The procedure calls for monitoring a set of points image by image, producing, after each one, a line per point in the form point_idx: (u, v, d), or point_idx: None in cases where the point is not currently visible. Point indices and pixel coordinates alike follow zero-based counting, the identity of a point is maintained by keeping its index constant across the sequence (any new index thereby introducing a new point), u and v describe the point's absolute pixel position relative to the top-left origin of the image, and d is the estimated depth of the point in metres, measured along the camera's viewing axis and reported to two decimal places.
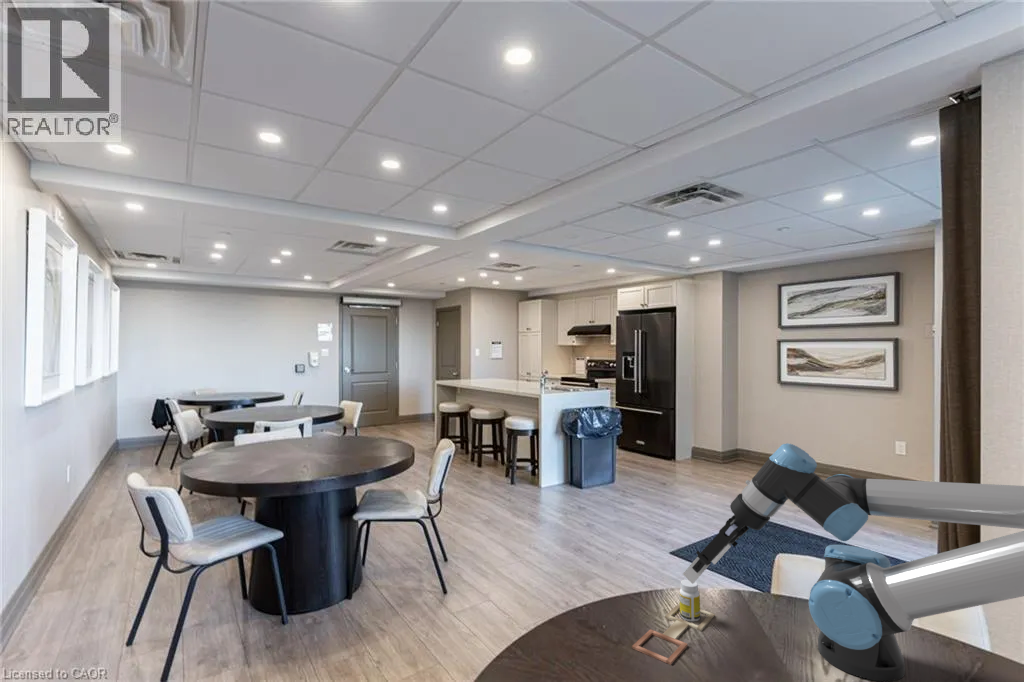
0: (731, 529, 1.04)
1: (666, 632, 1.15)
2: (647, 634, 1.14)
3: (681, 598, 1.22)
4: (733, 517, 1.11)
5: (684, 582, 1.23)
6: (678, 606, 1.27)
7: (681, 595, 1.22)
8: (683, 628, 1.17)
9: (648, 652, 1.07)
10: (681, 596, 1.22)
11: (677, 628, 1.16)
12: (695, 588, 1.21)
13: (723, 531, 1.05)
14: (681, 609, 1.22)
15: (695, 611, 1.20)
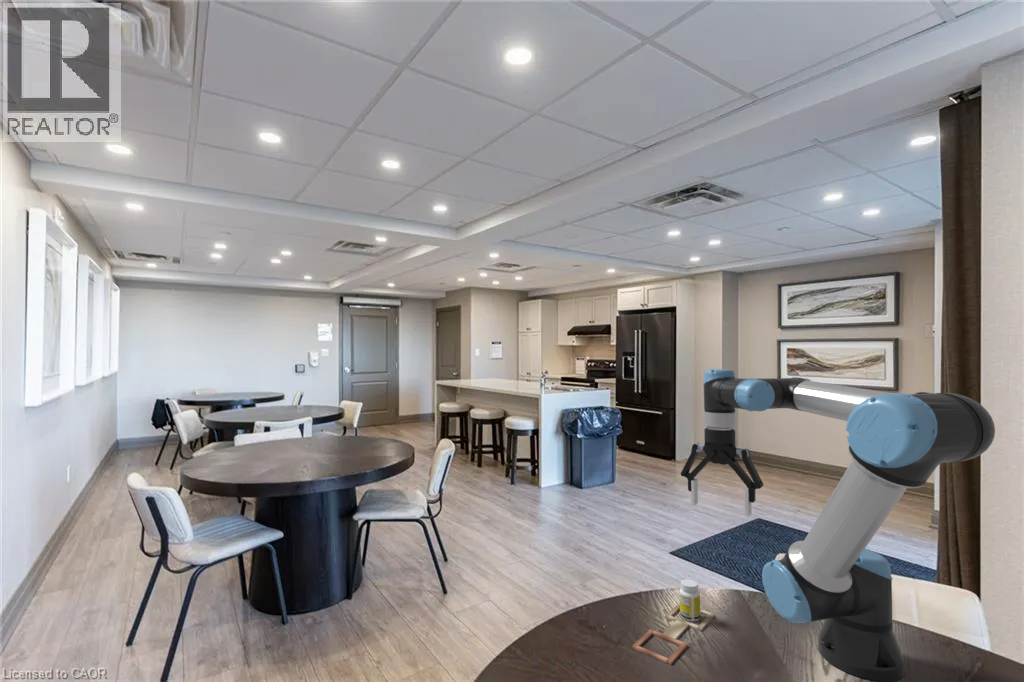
0: None
1: (666, 632, 1.15)
2: (647, 634, 1.14)
3: (681, 598, 1.22)
4: None
5: (684, 582, 1.23)
6: (678, 606, 1.27)
7: (681, 595, 1.22)
8: (683, 628, 1.17)
9: (648, 652, 1.07)
10: (681, 596, 1.22)
11: (677, 628, 1.16)
12: (695, 588, 1.21)
13: None
14: (681, 609, 1.22)
15: (695, 611, 1.20)
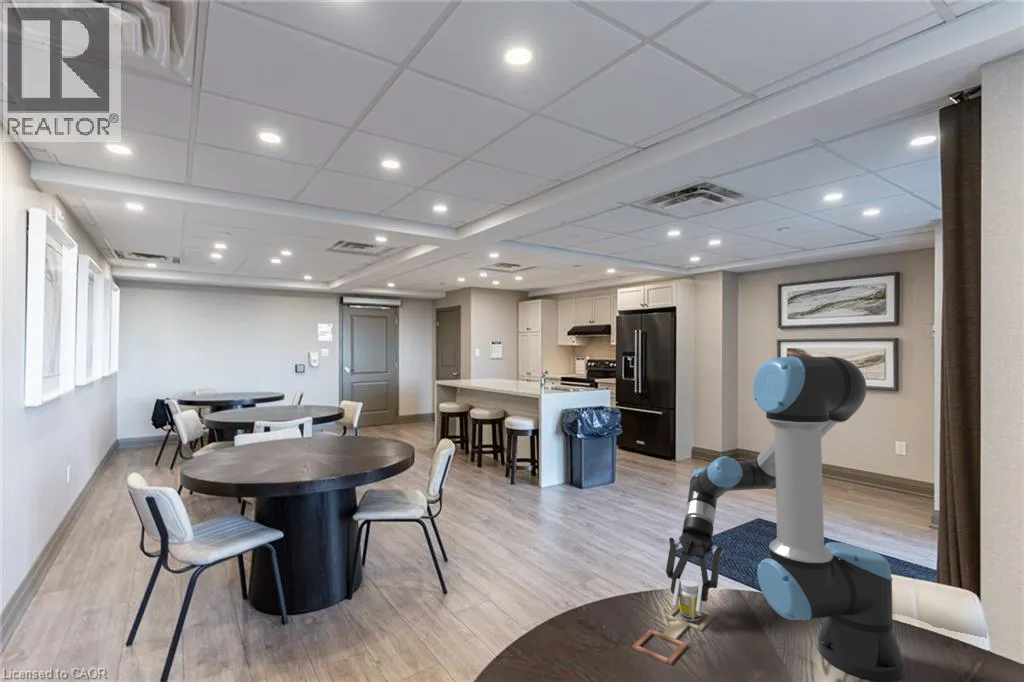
0: None
1: (666, 632, 1.15)
2: (647, 634, 1.14)
3: (681, 598, 1.22)
4: None
5: (684, 582, 1.23)
6: (678, 606, 1.27)
7: (681, 595, 1.22)
8: (683, 628, 1.17)
9: (648, 652, 1.07)
10: (681, 596, 1.22)
11: (677, 628, 1.16)
12: (695, 588, 1.21)
13: None
14: (681, 609, 1.22)
15: (695, 611, 1.20)
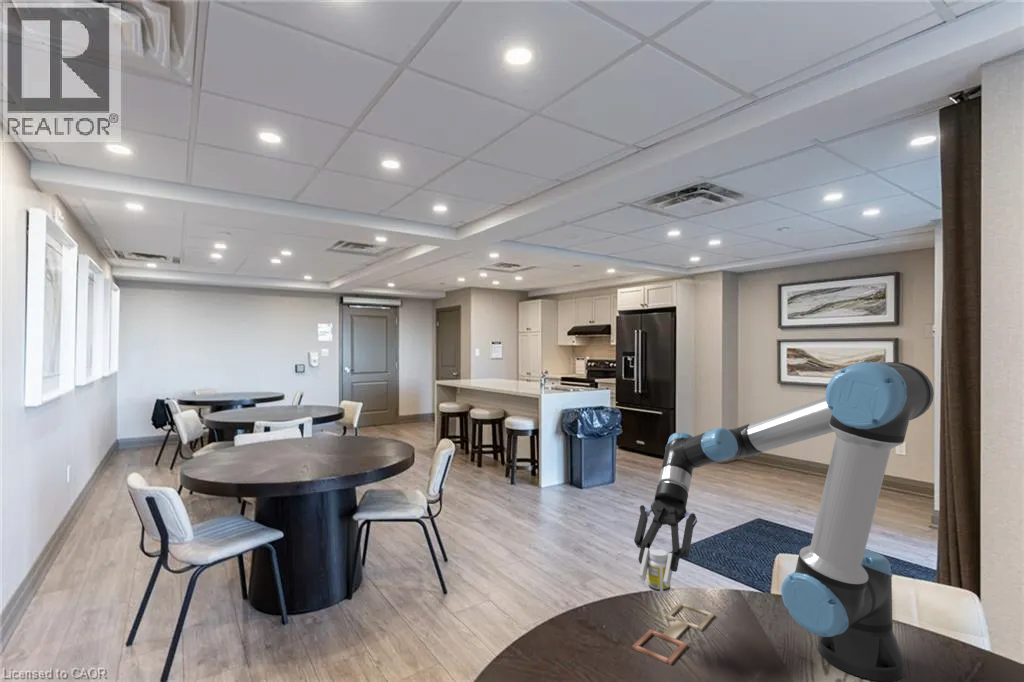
0: None
1: (666, 632, 1.15)
2: (647, 634, 1.14)
3: (649, 568, 1.12)
4: None
5: (653, 551, 1.13)
6: (678, 606, 1.27)
7: (649, 565, 1.12)
8: (683, 628, 1.17)
9: (648, 652, 1.07)
10: (649, 566, 1.12)
11: (677, 628, 1.16)
12: (665, 557, 1.11)
13: None
14: (649, 580, 1.12)
15: None
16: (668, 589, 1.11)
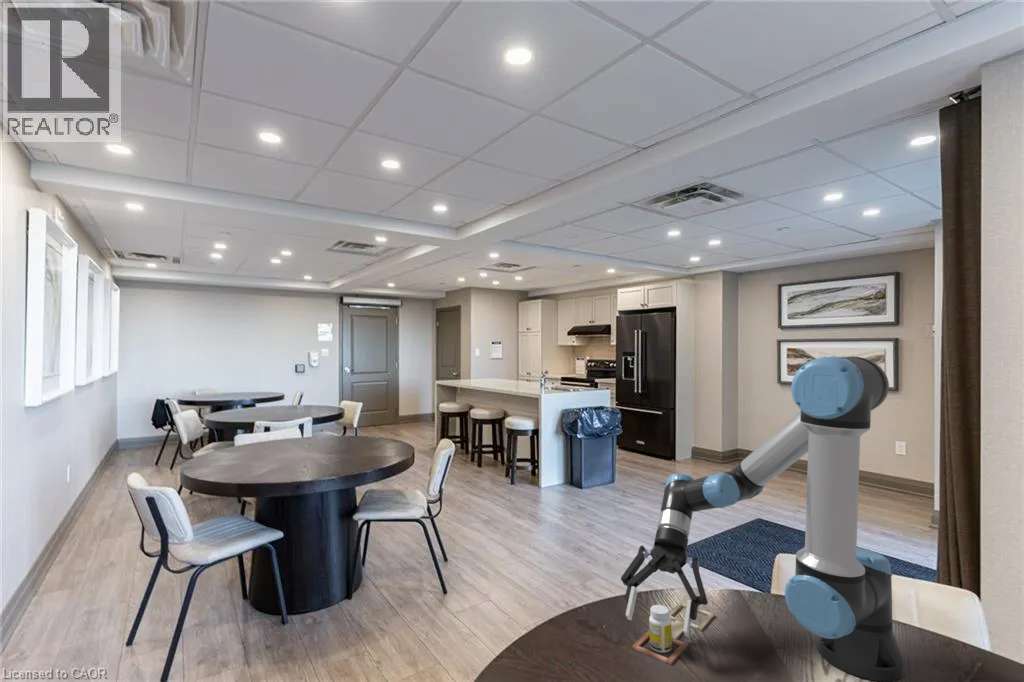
0: None
1: None
2: (647, 634, 1.14)
3: (650, 626, 1.09)
4: None
5: (654, 609, 1.10)
6: (678, 606, 1.27)
7: (650, 623, 1.09)
8: None
9: (648, 652, 1.07)
10: (650, 624, 1.09)
11: (677, 628, 1.16)
12: (666, 615, 1.09)
13: None
14: (651, 638, 1.10)
15: (666, 641, 1.08)
16: (670, 648, 1.08)
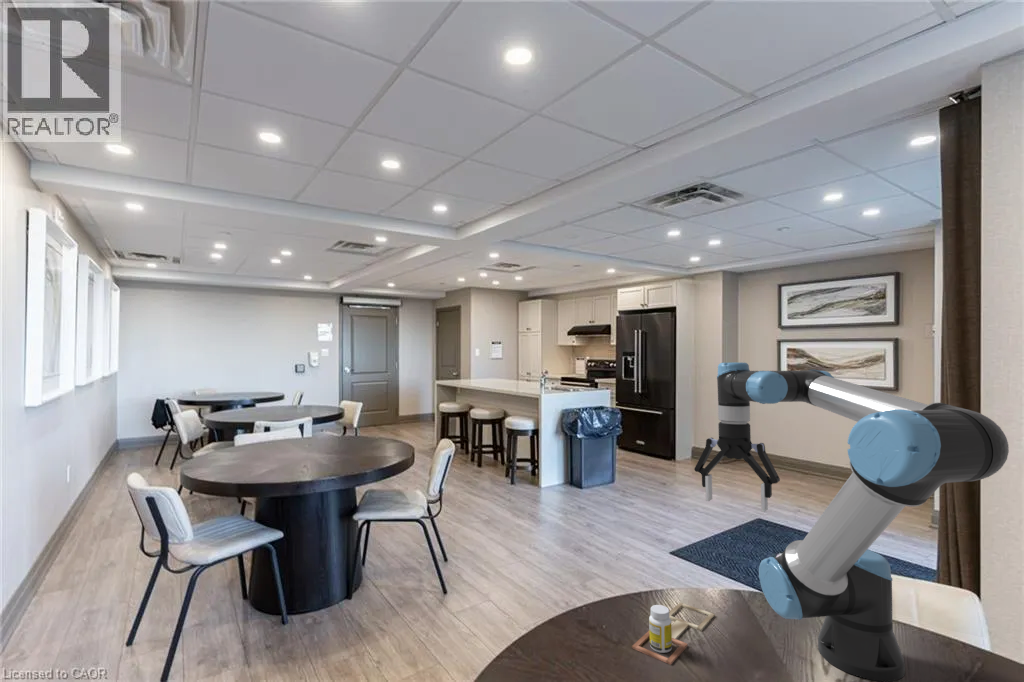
0: None
1: None
2: (647, 634, 1.14)
3: (651, 626, 1.09)
4: None
5: (654, 609, 1.10)
6: (678, 606, 1.27)
7: (651, 623, 1.09)
8: (683, 628, 1.17)
9: (648, 652, 1.07)
10: (651, 624, 1.09)
11: (677, 628, 1.16)
12: (666, 615, 1.09)
13: None
14: (651, 638, 1.10)
15: (666, 641, 1.08)
16: (670, 648, 1.08)
